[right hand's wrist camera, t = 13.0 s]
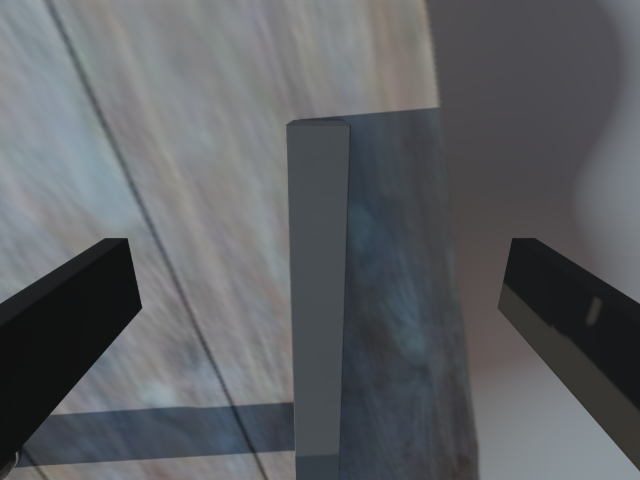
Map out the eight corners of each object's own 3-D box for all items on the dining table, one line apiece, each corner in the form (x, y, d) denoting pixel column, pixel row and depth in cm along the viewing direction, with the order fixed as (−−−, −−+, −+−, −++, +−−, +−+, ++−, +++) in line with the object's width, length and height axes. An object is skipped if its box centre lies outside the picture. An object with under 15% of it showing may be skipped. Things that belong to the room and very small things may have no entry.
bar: (292, 119, 35) (285, 124, 27) (343, 120, 35) (350, 125, 27) (302, 518, 57) (299, 584, 49) (333, 518, 57) (335, 584, 49)
